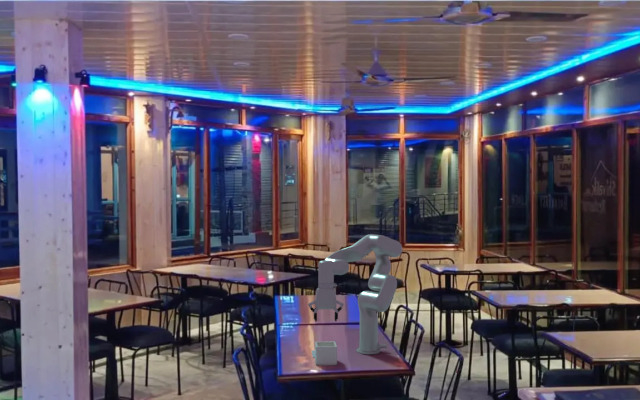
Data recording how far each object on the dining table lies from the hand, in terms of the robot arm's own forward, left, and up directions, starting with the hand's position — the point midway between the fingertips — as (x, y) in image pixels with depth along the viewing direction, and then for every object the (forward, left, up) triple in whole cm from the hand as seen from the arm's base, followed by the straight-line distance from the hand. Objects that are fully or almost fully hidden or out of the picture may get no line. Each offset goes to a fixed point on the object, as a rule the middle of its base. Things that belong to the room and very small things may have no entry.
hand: (325, 320), depth 298 cm
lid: (0, -14, -21) cm, 25 cm away
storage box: (0, 0, -20) cm, 20 cm away
